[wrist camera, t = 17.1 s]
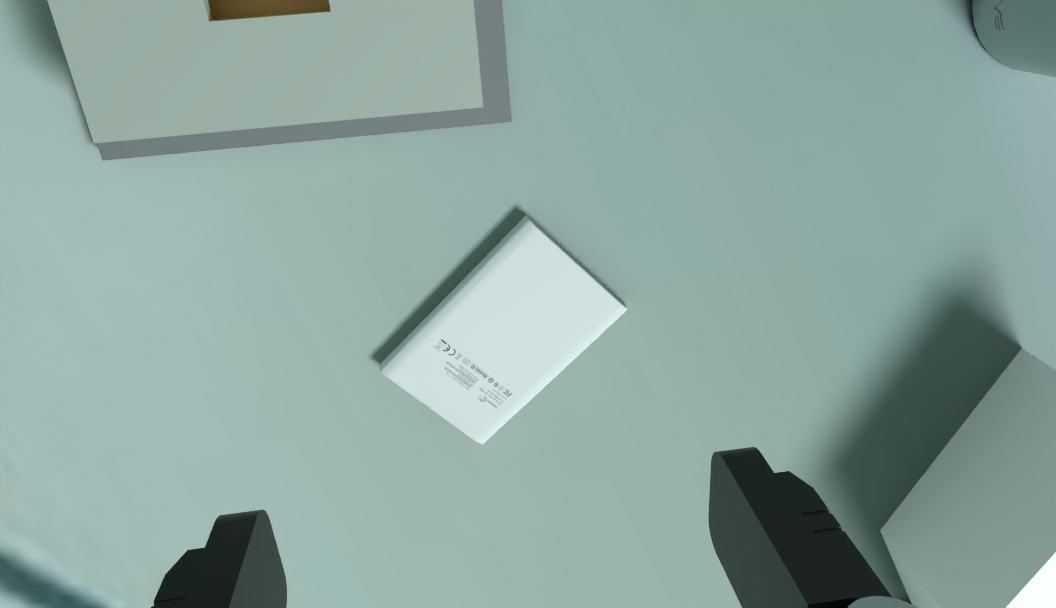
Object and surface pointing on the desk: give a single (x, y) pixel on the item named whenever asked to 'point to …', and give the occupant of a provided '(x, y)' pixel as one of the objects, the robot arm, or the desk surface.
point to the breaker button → (263, 8)
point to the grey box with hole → (280, 72)
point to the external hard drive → (503, 332)
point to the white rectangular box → (987, 503)
